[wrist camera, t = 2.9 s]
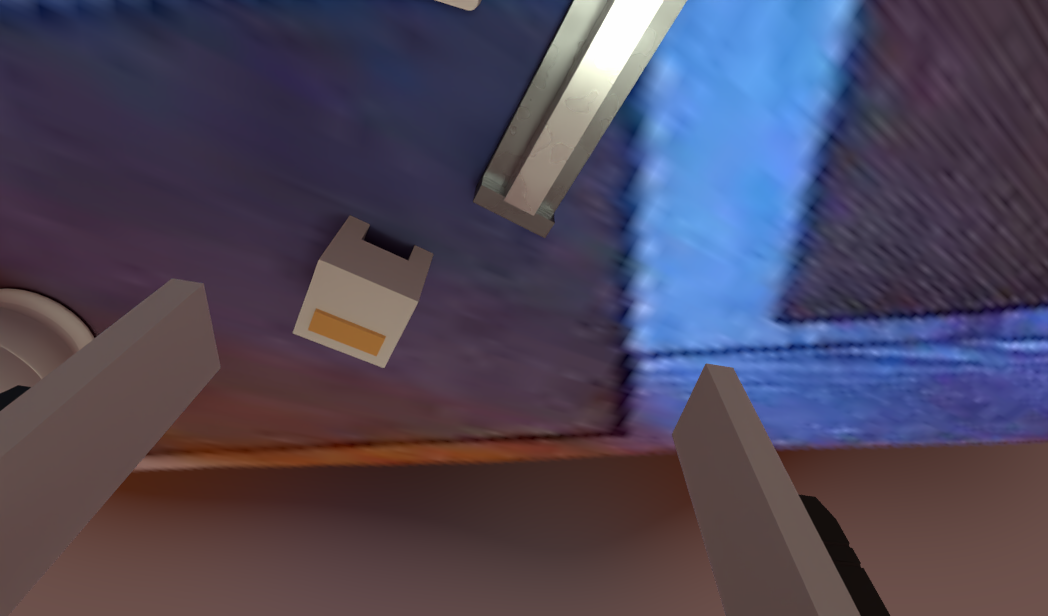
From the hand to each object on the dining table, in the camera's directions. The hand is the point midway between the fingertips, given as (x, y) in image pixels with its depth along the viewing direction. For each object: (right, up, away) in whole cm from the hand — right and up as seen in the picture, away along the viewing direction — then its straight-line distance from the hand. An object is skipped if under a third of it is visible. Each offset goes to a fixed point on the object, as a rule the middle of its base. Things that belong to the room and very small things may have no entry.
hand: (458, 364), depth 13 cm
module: (-9, +4, +22) cm, 24 cm away
